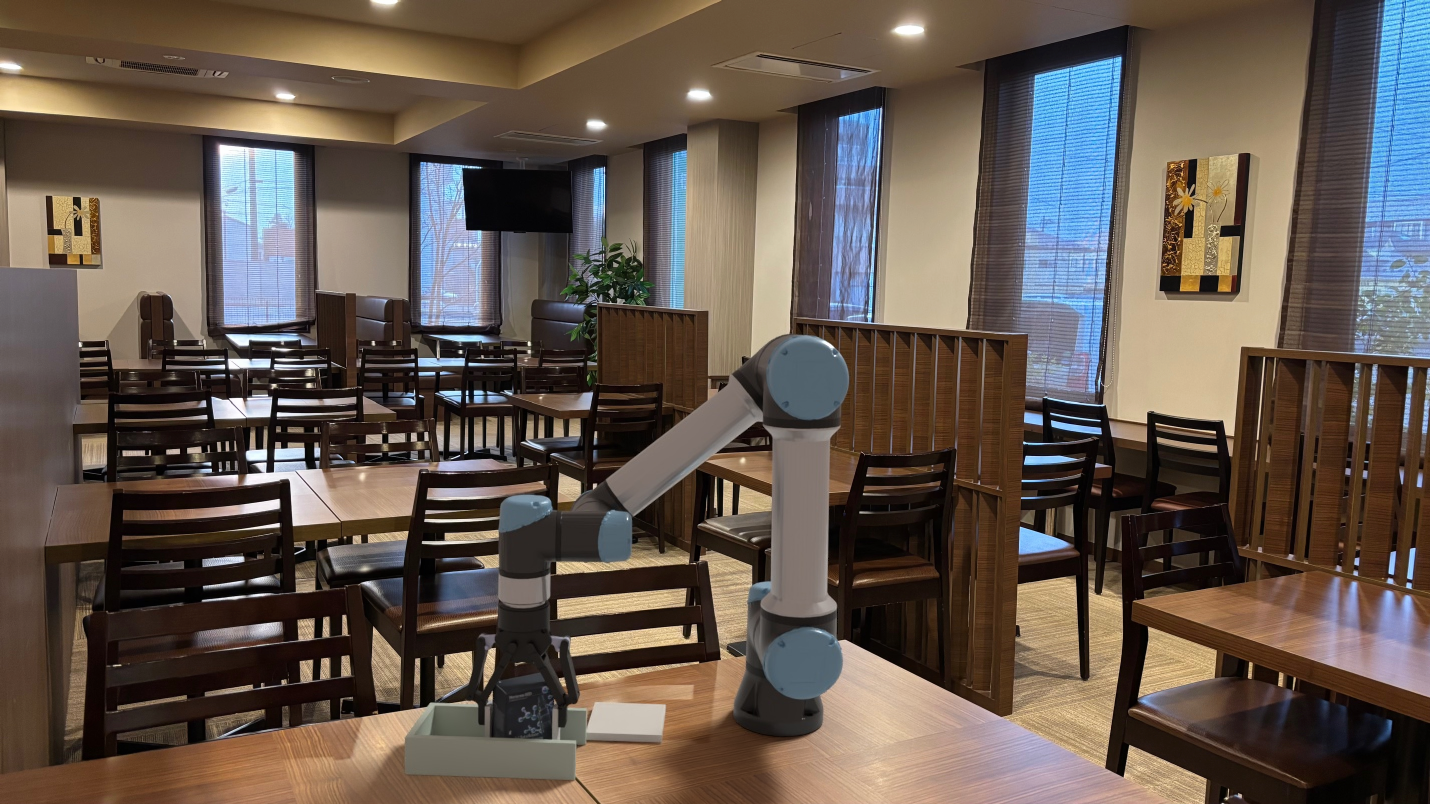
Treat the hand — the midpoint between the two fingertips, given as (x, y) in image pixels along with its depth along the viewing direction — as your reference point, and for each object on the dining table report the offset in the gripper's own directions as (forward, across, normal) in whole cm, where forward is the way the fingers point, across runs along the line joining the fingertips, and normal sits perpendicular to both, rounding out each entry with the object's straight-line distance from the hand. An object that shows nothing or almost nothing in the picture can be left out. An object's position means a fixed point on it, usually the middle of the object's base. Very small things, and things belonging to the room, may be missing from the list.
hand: (522, 745), depth 148 cm
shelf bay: (+2, +4, 0) cm, 4 cm away
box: (+1, 0, 0) cm, 1 cm away
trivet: (+2, -14, -13) cm, 20 cm away
